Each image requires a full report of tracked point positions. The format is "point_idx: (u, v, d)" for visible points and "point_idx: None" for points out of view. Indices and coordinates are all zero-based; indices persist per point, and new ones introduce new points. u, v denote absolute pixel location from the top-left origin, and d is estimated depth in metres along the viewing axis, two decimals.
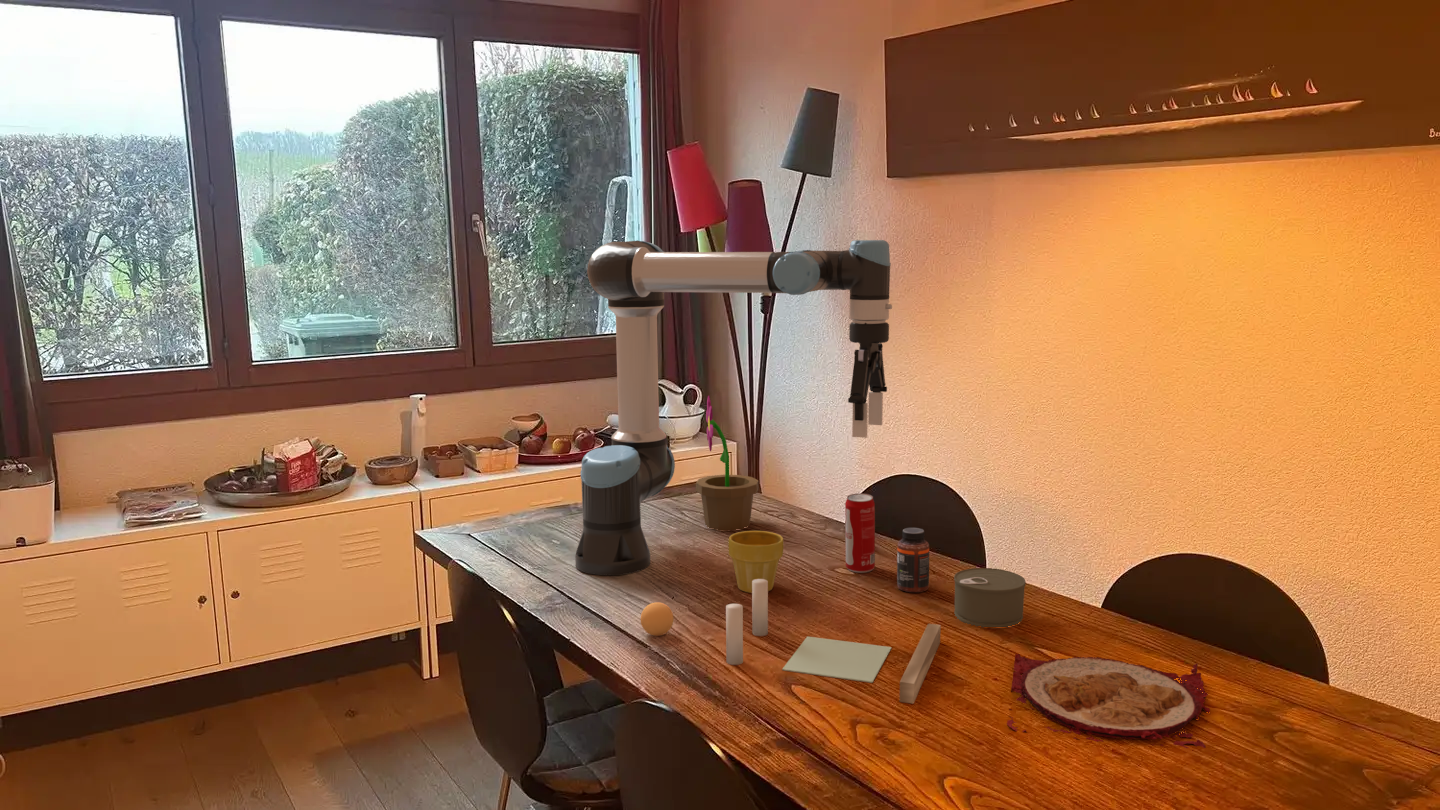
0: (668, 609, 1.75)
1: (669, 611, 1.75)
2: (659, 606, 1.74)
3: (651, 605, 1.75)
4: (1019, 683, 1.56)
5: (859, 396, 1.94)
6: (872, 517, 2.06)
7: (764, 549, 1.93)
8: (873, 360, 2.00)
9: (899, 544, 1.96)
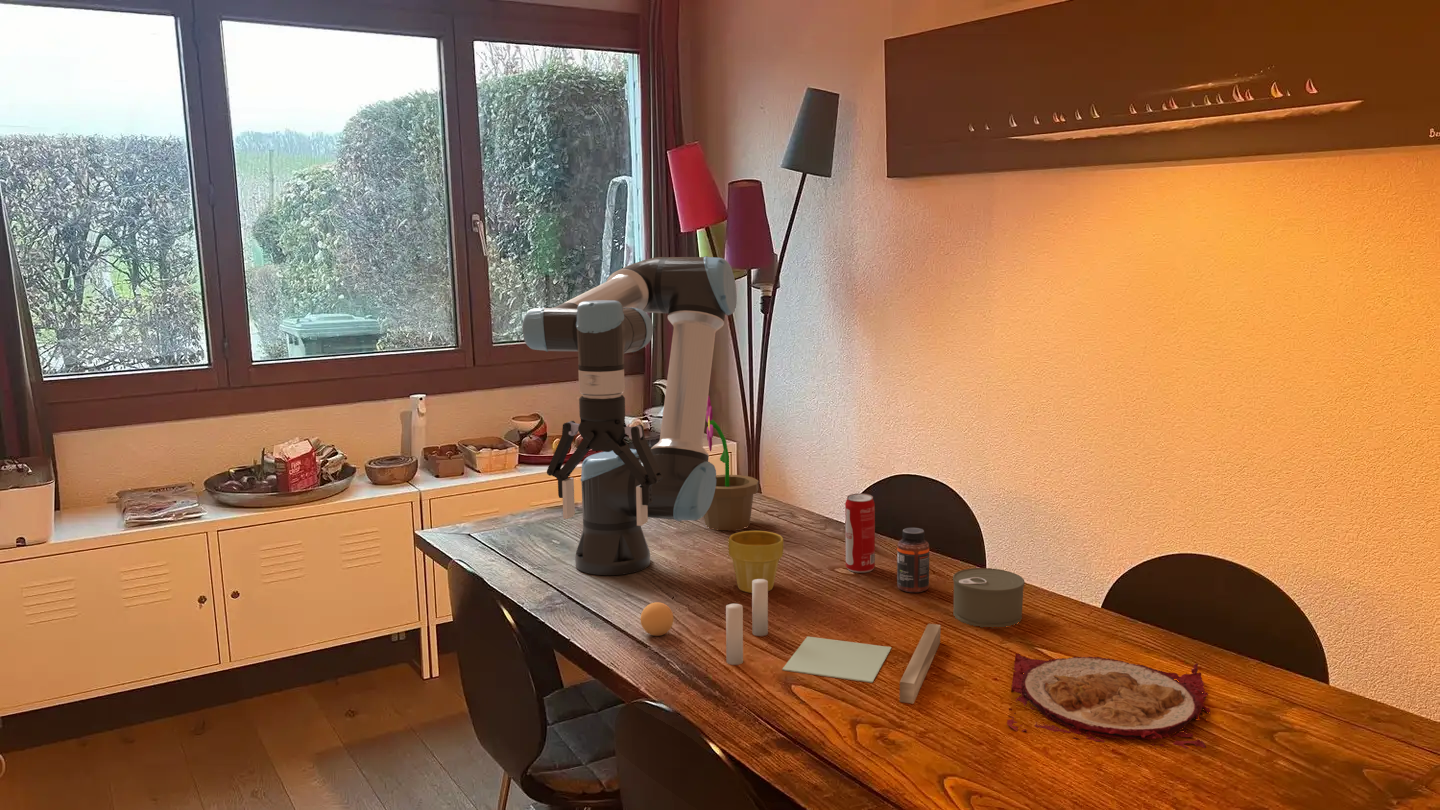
0: (668, 609, 1.75)
1: (669, 611, 1.75)
2: (659, 606, 1.74)
3: (651, 605, 1.75)
4: (1019, 682, 1.56)
5: None
6: (872, 517, 2.06)
7: (764, 549, 1.93)
8: (584, 438, 1.74)
9: (899, 544, 1.96)
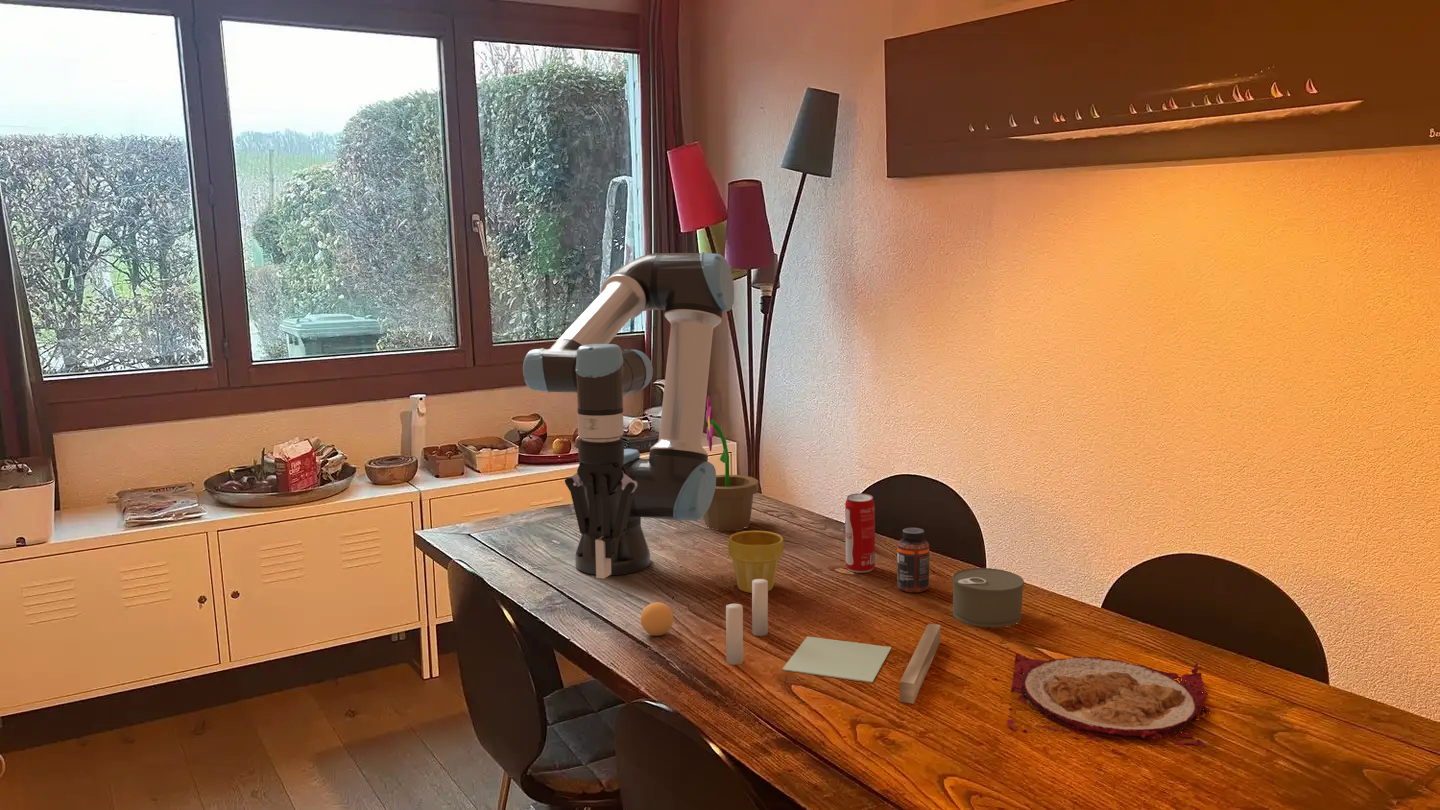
0: (668, 609, 1.75)
1: (669, 611, 1.75)
2: (659, 606, 1.74)
3: (651, 605, 1.75)
4: (1019, 682, 1.56)
5: None
6: (872, 517, 2.06)
7: (764, 549, 1.93)
8: None
9: (899, 544, 1.96)
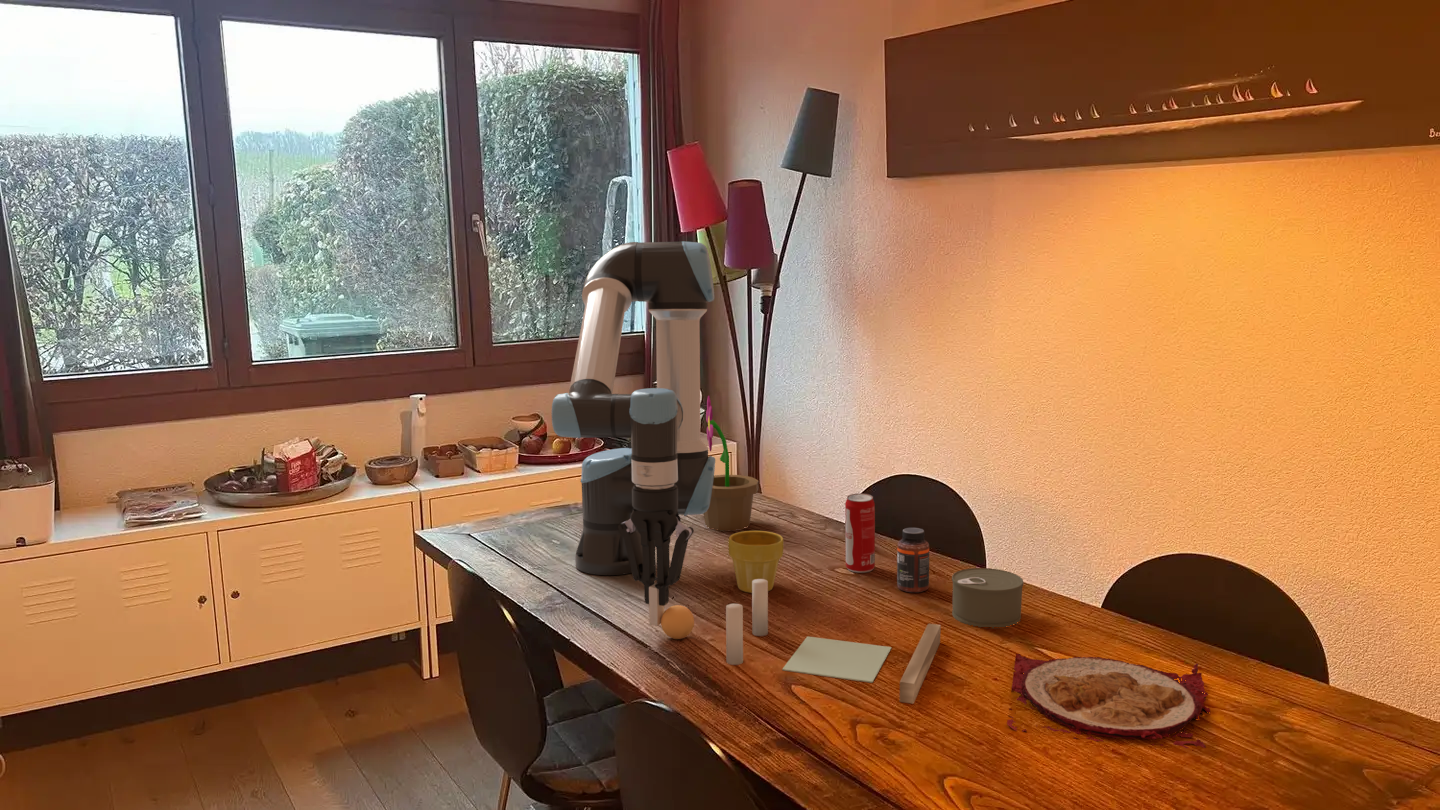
0: (692, 629, 1.74)
1: None
2: (690, 624, 1.73)
3: (686, 616, 1.73)
4: (1020, 682, 1.56)
5: None
6: (872, 517, 2.06)
7: (764, 549, 1.93)
8: None
9: (899, 544, 1.96)
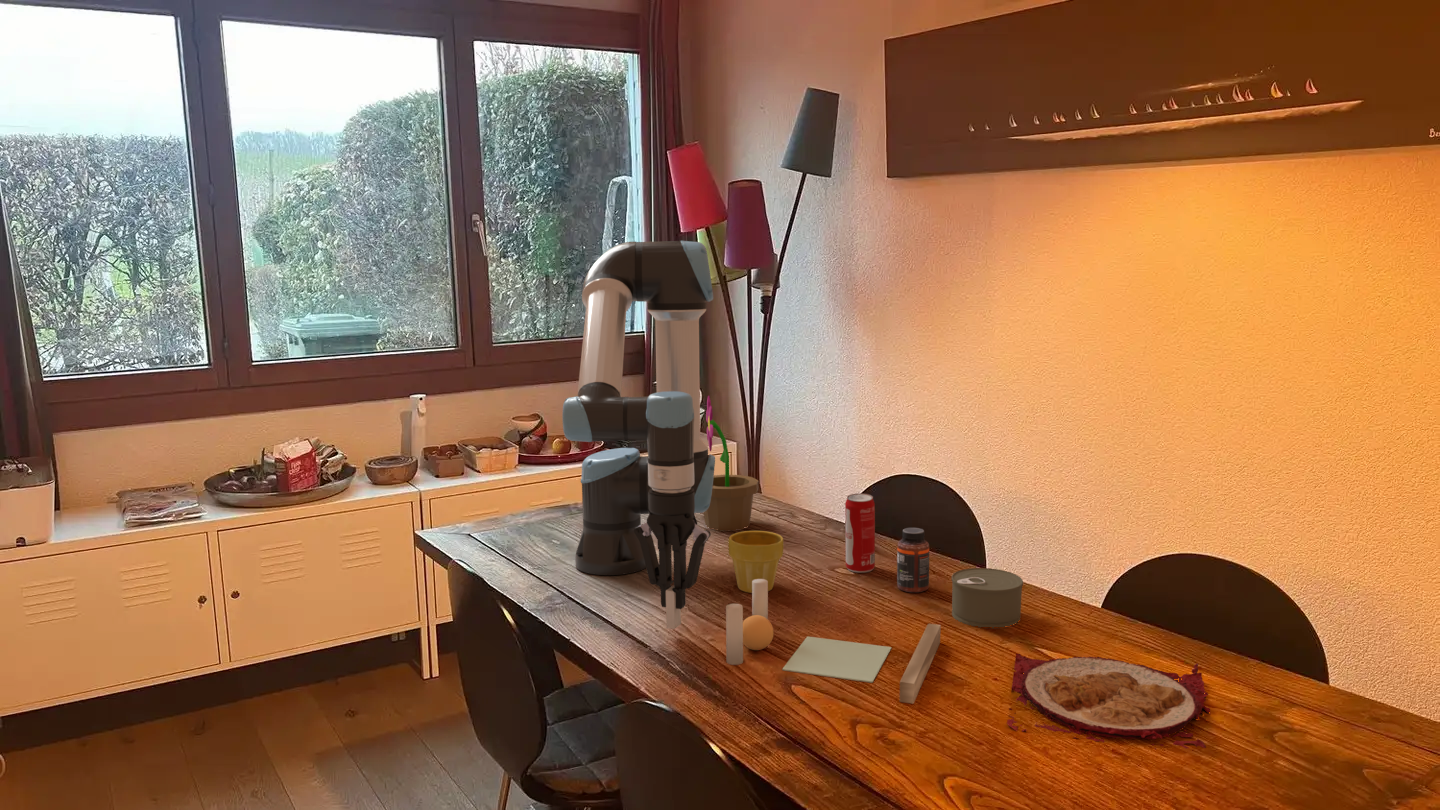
0: (767, 620, 1.69)
1: (768, 622, 1.69)
2: (757, 619, 1.68)
3: (749, 619, 1.69)
4: (1020, 682, 1.56)
5: None
6: (872, 517, 2.06)
7: (764, 549, 1.93)
8: None
9: (899, 544, 1.96)
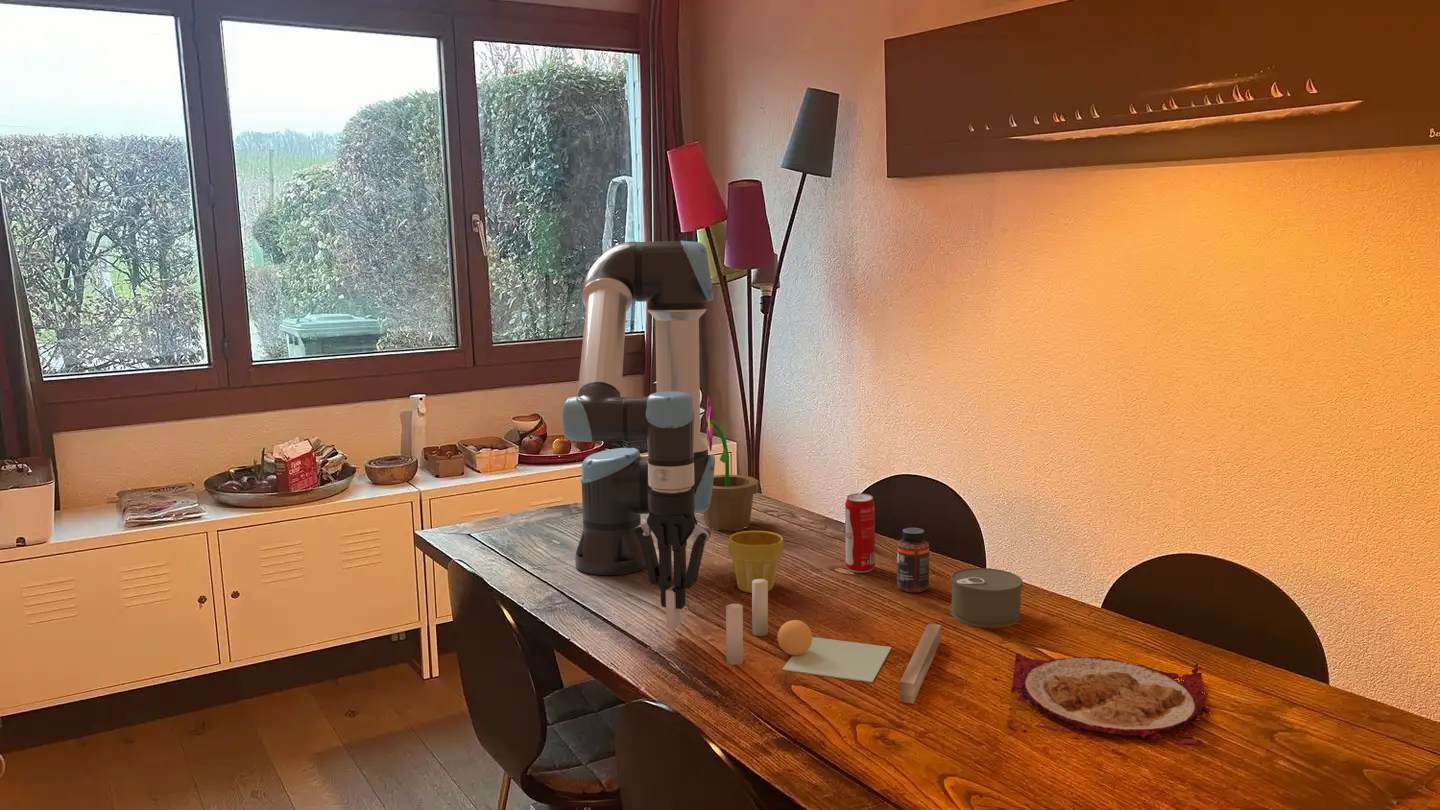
0: None
1: None
2: (802, 653, 1.66)
3: (807, 647, 1.66)
4: (1020, 682, 1.56)
5: None
6: (872, 517, 2.06)
7: (764, 549, 1.93)
8: None
9: (899, 544, 1.96)
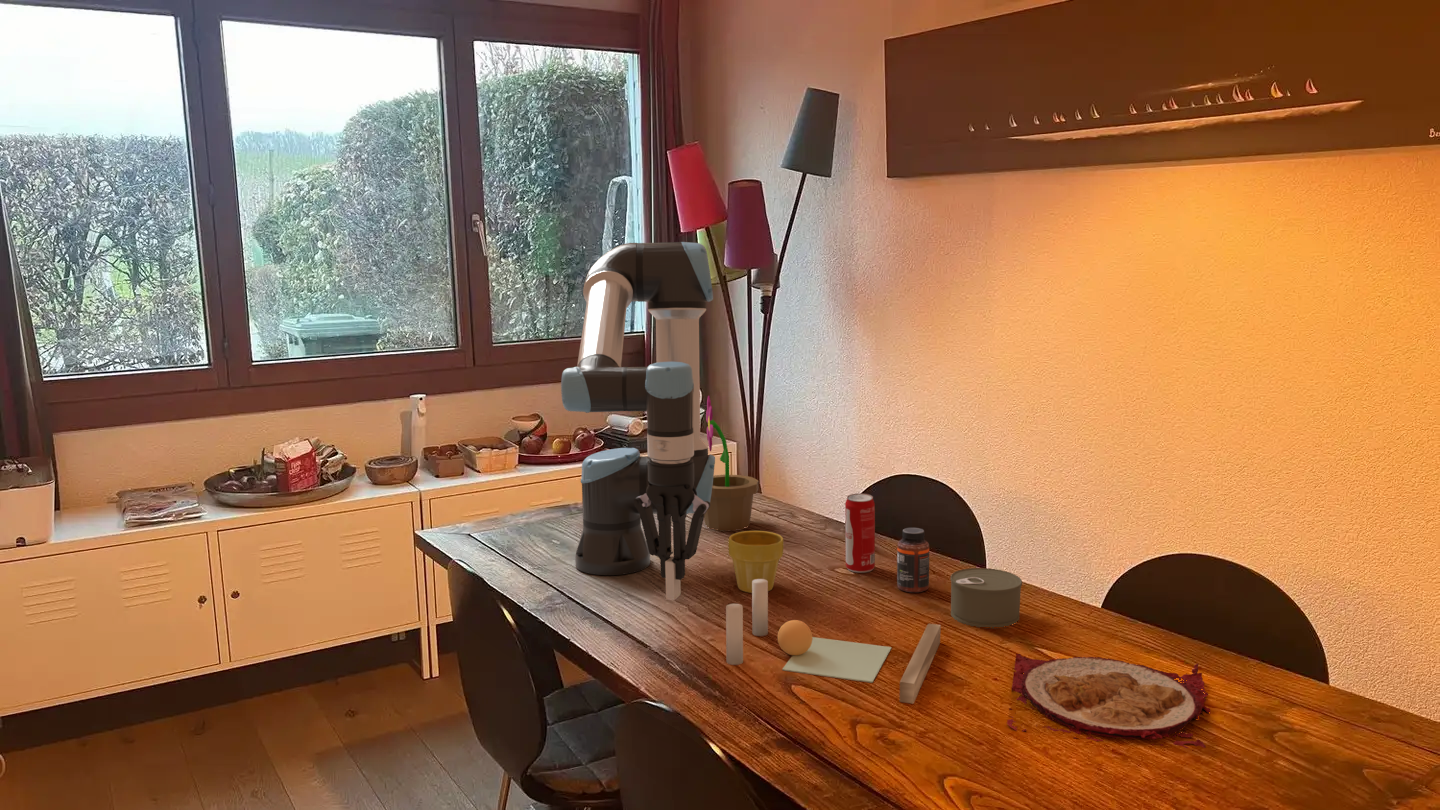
0: None
1: None
2: (802, 653, 1.66)
3: (807, 647, 1.66)
4: (1020, 682, 1.56)
5: None
6: (872, 517, 2.06)
7: (764, 549, 1.93)
8: None
9: (899, 544, 1.96)
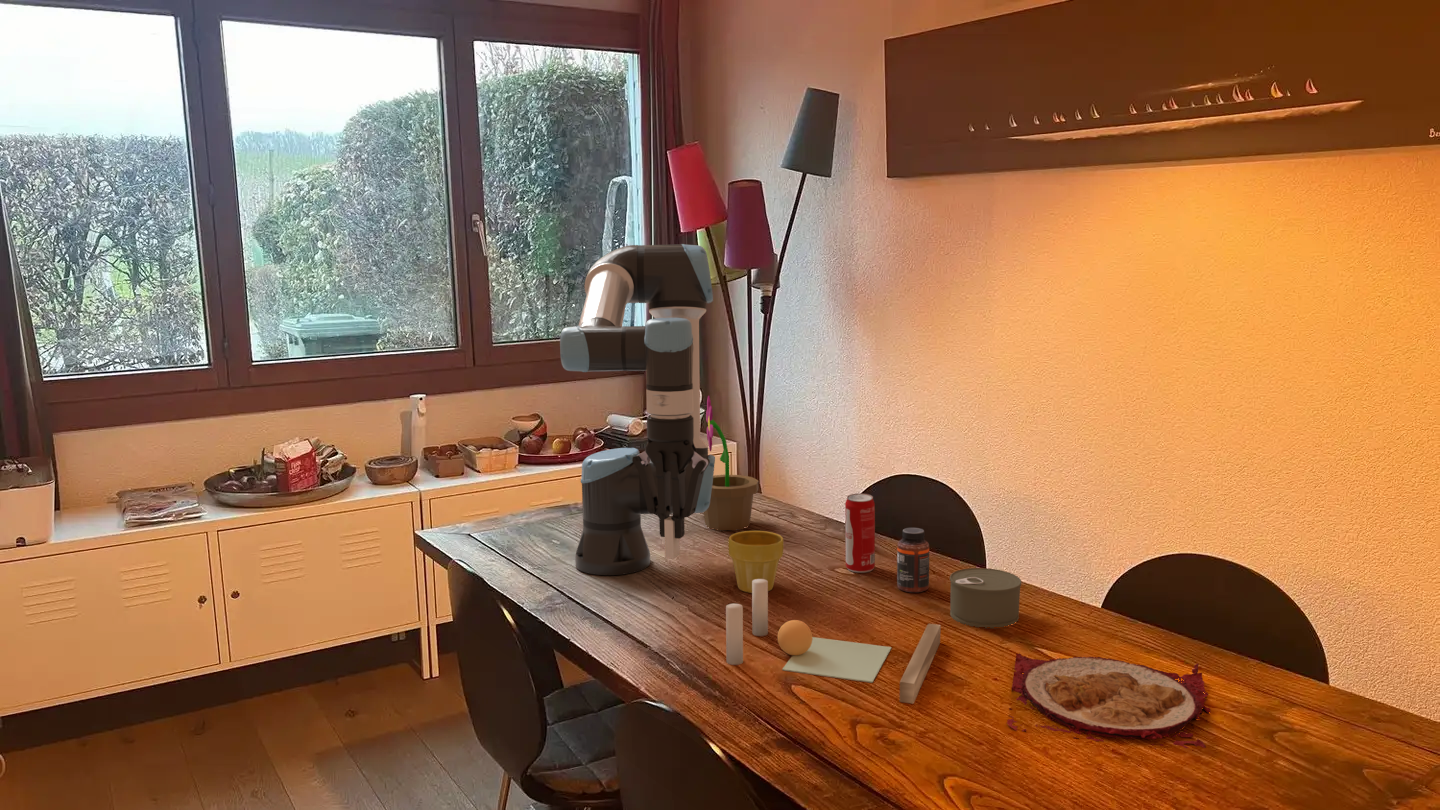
0: None
1: None
2: (802, 653, 1.66)
3: (807, 647, 1.66)
4: (1020, 682, 1.56)
5: None
6: (872, 517, 2.06)
7: (764, 549, 1.93)
8: None
9: (899, 544, 1.96)
